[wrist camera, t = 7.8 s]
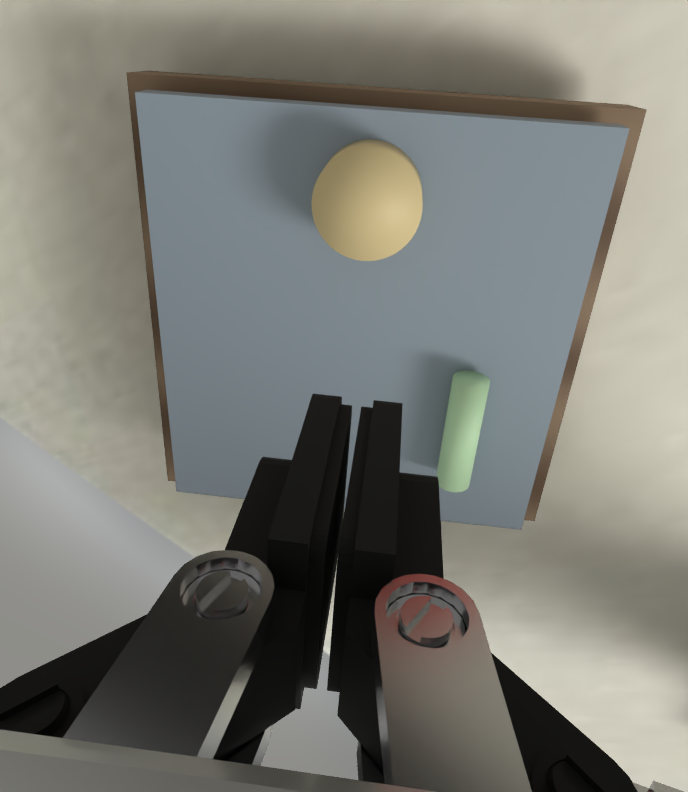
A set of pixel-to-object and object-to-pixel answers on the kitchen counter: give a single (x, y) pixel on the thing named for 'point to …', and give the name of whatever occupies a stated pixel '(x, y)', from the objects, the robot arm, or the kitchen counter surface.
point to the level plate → (369, 281)
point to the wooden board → (408, 100)
